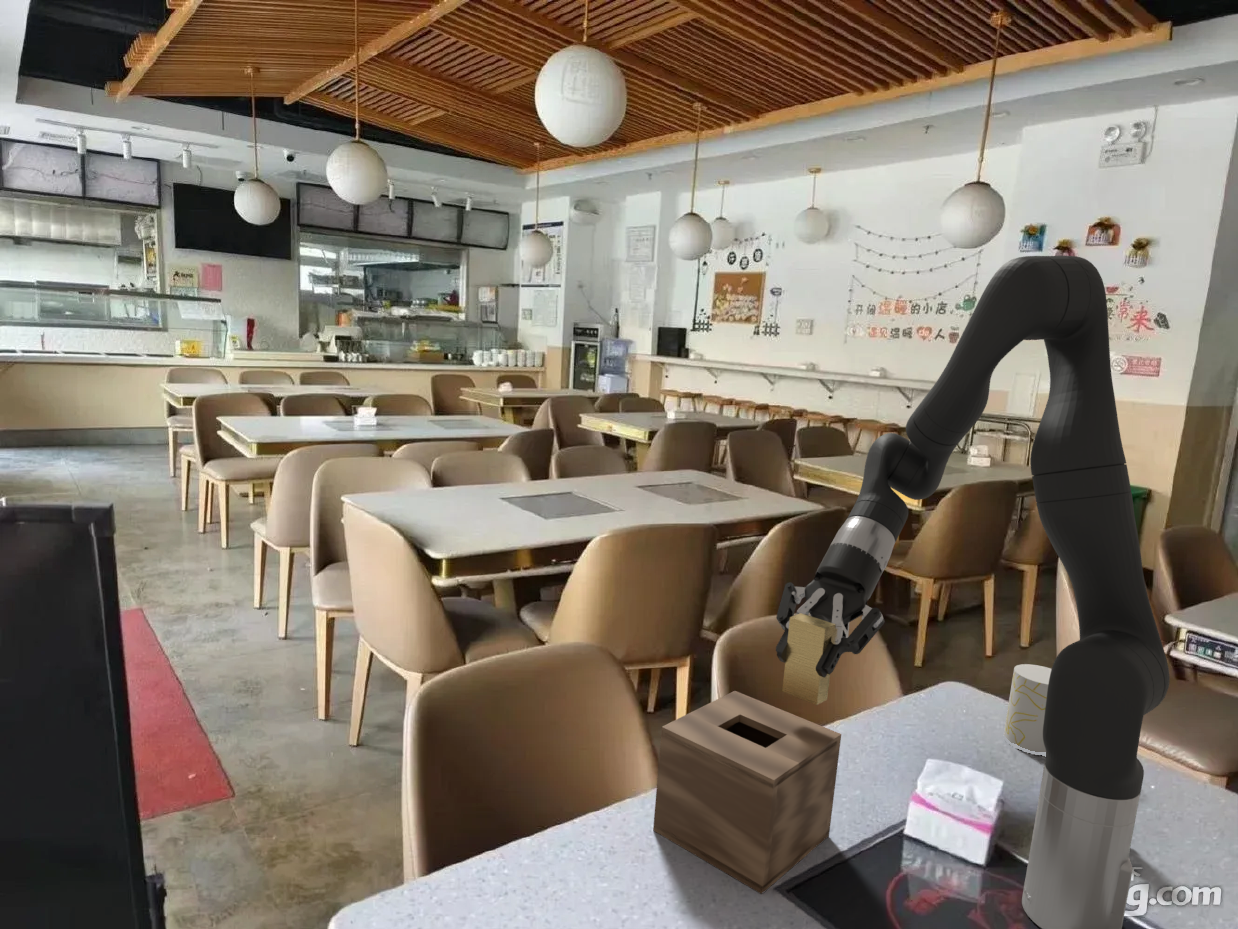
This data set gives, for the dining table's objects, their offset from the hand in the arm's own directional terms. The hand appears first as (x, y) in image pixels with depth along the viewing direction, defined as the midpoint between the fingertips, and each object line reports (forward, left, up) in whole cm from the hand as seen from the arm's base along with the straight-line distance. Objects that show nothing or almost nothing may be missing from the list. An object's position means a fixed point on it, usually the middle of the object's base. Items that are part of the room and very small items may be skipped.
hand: (800, 665), depth 102 cm
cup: (-33, -43, -22) cm, 58 cm away
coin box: (+4, +4, -22) cm, 23 cm away
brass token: (-1, -2, -5) cm, 5 cm away
